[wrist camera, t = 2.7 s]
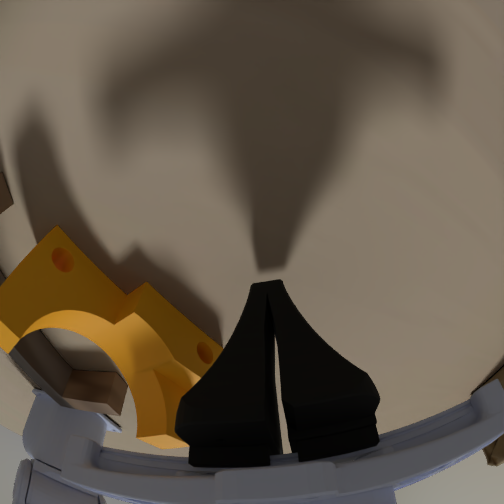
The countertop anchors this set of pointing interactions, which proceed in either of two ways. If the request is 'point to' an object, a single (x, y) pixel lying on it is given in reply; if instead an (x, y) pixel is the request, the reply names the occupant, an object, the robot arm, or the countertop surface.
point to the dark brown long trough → (64, 366)
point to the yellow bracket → (110, 329)
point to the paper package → (500, 448)
